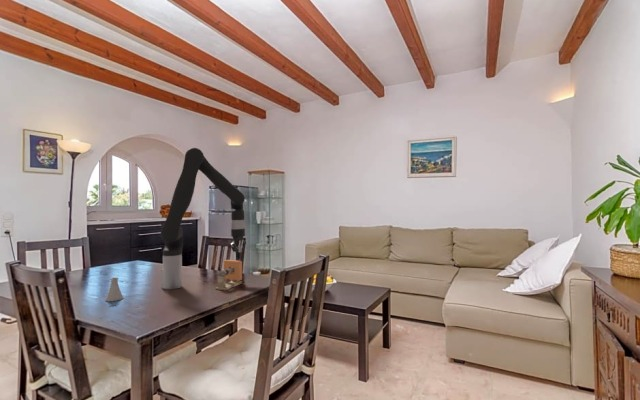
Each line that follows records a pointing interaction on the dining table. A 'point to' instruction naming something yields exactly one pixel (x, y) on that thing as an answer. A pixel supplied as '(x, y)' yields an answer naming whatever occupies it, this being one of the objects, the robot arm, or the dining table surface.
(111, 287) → the flask
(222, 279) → the pipe stand
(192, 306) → the dining table surface
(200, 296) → the dining table surface
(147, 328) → the dining table surface
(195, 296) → the dining table surface
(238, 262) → the orange square plate
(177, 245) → the robot arm
